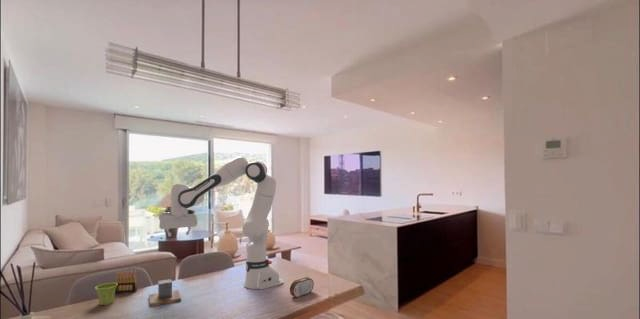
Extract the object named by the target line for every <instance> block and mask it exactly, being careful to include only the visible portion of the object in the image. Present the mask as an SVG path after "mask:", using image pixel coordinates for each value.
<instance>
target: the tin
mask: <svg viewBox="0 0 640 319" xmlns="http://www.w3.org/2000/svg"><path fill="white" fill-rule="evenodd" d="M314 286H315V285H314V280H313V279H312V278H310V277H308V276H305V277H303V278H299V279H296V280H294V281H293V282H292V283H291V284H290V287H289V294H290V295H291V296H292V297H294V298H300V297H302V296H305V295H309V294H311V292H312V291H313V289H314Z"/></svg>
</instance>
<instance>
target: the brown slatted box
mask: <svg viewBox="0 0 640 319" xmlns="http://www.w3.org/2000/svg"><path fill="white" fill-rule="evenodd" d="M115 274H116V276H115V283H117V284H118V285H117V287H116V290H115V294H119V293H120V294H122V293H136V292H137V291H138V286H137V285H138V284H137V271H136V269H134V270H132V269H130V271H129V269H127V271H126V270H125V269H124V270H123V271H122V270H121V269H120V272H119V270H117V271H116V273H115ZM135 291H136V292H135Z"/></svg>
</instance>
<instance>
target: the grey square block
mask: <svg viewBox="0 0 640 319" xmlns="http://www.w3.org/2000/svg"><path fill="white" fill-rule="evenodd" d="M157 284H158V286H157V287H158V288H157V290H158V291H157V293H158V298H159V299H164V298H170V297H172V291H173V281H172V279H171V278H169V279H168V278H167V279H164V280H163V279H162V280H158V283H157Z"/></svg>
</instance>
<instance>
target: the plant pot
mask: <svg viewBox="0 0 640 319" xmlns="http://www.w3.org/2000/svg"><path fill="white" fill-rule="evenodd" d="M117 285H118V284H117V283H116V282H109V283H103V284H99V285H96V286H95V287H94V288H95V291H96V293H97V300H98V304H99V306H108V305H110V304H111V305H112V303H114V301H115V296H116V293H115V290H116V287H117Z"/></svg>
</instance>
